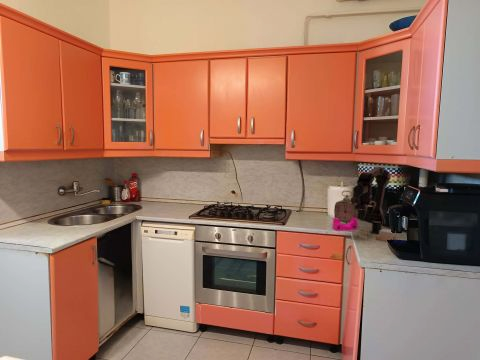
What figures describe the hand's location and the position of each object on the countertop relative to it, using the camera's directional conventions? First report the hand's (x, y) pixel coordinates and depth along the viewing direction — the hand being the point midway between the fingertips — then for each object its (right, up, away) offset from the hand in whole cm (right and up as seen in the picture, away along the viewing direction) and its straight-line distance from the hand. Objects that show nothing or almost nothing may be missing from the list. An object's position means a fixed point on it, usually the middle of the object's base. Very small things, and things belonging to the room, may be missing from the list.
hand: (365, 219), depth 189 cm
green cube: (0, -12, +1) cm, 12 cm away
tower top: (+12, -9, -3) cm, 15 cm away
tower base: (+11, -12, -2) cm, 17 cm away
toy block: (-5, -10, +22) cm, 24 cm away
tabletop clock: (-1, -9, +31) cm, 33 cm away
